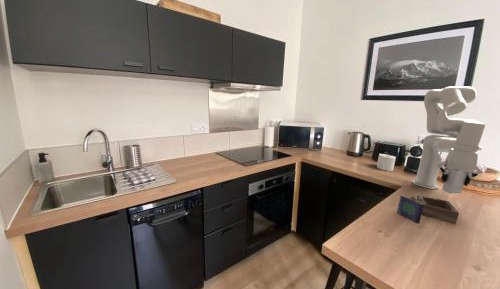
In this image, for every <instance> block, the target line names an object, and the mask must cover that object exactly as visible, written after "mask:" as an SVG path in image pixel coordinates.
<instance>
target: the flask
mask: <svg viewBox="0 0 500 289" xmlns="http://www.w3.org/2000/svg"><path fill="white" fill-rule="evenodd" d="M416 199H417V197H416V195H415V194H414V195H413V194H412V195H410V196H407V195H404V194H401V195H399V201H398V204H397V209H396V213H397V214H398V215H399V216H402V217H403V218H405V219H408V220H409V221H411V222H413V223H415V224H420V223H421V219H422V216H423V215H422V211H423V207H424V204H423V203H422V202H421V201H418V200H416Z"/></svg>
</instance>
